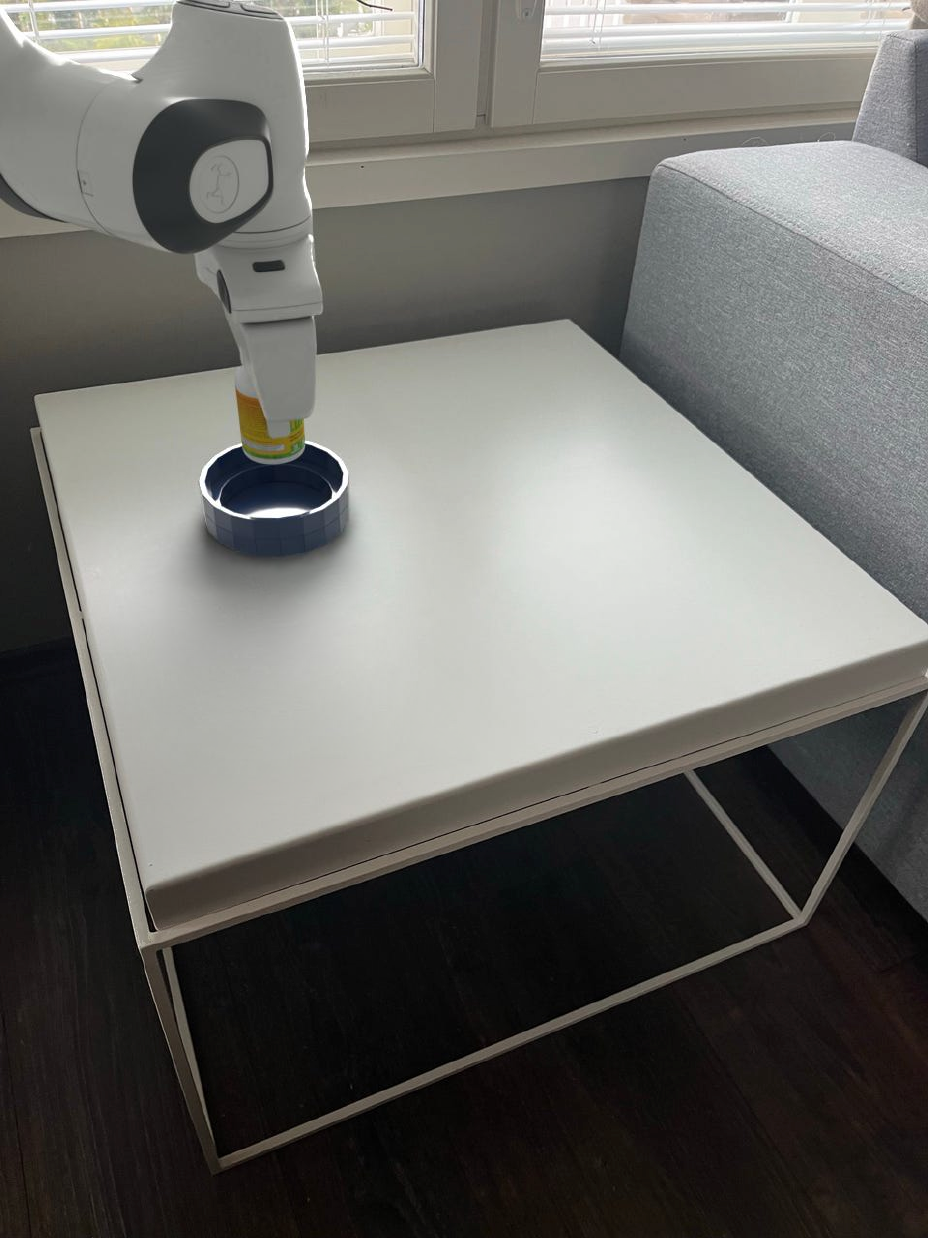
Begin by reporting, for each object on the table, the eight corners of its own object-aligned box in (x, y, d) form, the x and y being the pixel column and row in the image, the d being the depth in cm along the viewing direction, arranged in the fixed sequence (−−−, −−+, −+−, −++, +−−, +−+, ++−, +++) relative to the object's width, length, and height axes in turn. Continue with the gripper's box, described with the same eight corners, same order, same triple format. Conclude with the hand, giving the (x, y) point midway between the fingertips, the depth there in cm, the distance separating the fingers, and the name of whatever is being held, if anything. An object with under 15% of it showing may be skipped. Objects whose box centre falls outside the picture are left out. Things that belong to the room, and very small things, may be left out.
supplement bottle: (300, 468, 82) (293, 363, 76) (237, 464, 82) (224, 359, 76) (309, 434, 86) (303, 331, 80) (248, 430, 86) (237, 328, 80)
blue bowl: (218, 574, 83) (212, 531, 80) (195, 489, 92) (189, 448, 89) (365, 548, 87) (365, 507, 84) (330, 469, 95) (328, 429, 92)
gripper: (191, 203, 79) (212, 359, 88) (235, 312, 65) (255, 484, 74) (269, 197, 80) (281, 351, 90) (328, 302, 66) (336, 472, 76)
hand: (270, 412), depth 82 cm, fingers closed on supplement bottle, 5 cm apart
